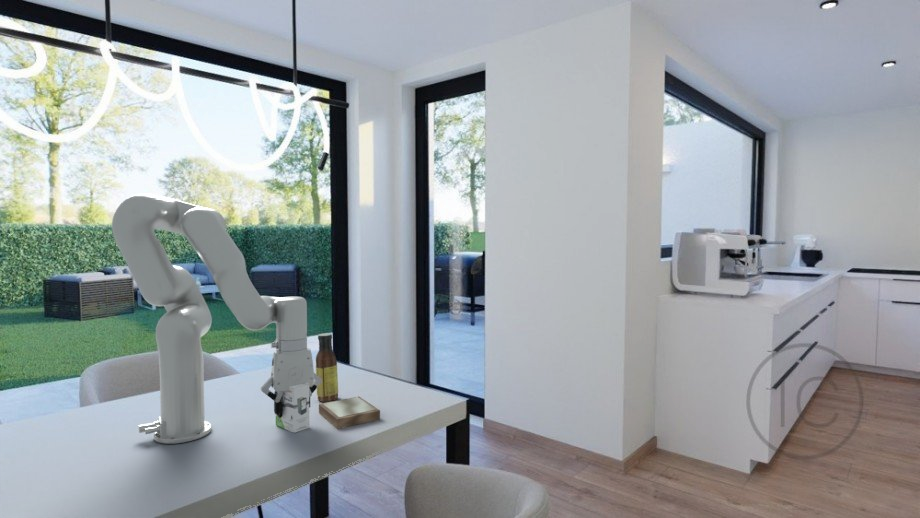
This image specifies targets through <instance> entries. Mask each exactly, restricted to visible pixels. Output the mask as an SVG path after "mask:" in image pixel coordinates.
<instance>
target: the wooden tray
mask: <svg viewBox="0 0 920 518" xmlns="http://www.w3.org/2000/svg"><path fill="white" fill-rule="evenodd" d="M318 413H319V414H320V415H321V416H322V417H323V419H325V420H327V422H329V424H331V425H332V426H333V427H335V428H336V429H337V430H338V429H339V430H340V429H343V428H344V429H345V428H347V427H352V426H358V425H361V424H366V423H369V422H370V423H371V422H373V421H374V422H375V421H379V420H381V410H380V409H378V408H377V407H376V406H374V405H373V404H371V403H369V402H368V401H367V400H365V399H364V398H363V397H360V396H354V397H349V398H344V399H340V400H339V399H336V400H333V401H329V402H324V403H323V402H322V403H319V404H318Z"/></svg>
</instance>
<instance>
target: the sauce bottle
mask: <svg viewBox="0 0 920 518" xmlns="http://www.w3.org/2000/svg"><path fill="white" fill-rule="evenodd" d="M317 339H318V351H317V354H316V356H315V374H316V375H317V376H319V377H320V378H321V379H322V382H321V383H320V384H319V386H317V388H316V396H317V400H318V401H319V402H324V403H327V402H332V401H337V400H338V398H339V381H338V380H339V378H338V362H337V357H336V354H335V352H334V350H333V345H332V344H333V343H332V339H333V333H329V332H326V333H319V334H318V335H317Z"/></svg>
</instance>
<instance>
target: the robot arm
mask: <svg viewBox="0 0 920 518" xmlns="http://www.w3.org/2000/svg"><path fill="white" fill-rule="evenodd" d="M226 227H227V225H226V219H225V218H224V216H223V215H222V214H221V213H220V212H219V211H217V210H216V209H213V208H209V207H203V206H201V205H196V204H192V203H189V202H186V201H182V200H178V199H175V198H171V197H166V196H162V195H159V194H152V193H137V194H134V195H131V196H129V197H127V198H126V199H125V200H123V201H122V202H121V203H120V204H119V206H118V207H117V208H116V210H115V212H114V214H113V217H112V221H111V230H112V234H113V235H112V236H113V238H114V241H115V243H116V245H117V247H118V249H119V251H120V253H121V255H122V256H123V260H125V263H126V265H127V267H128V270H129V271H130V273H131V276H132V277H133V279H134V282H135V284H136V286H137V288H138V290H139V292H140V294H141V296H142V298H143V299H144V300H145V301H146V302H147V303H148V304H149V305H152V306H155V307H164V309H165V310H166V312H165V313H163V315H162V316H161V317H160V318H159V320H158V321H157V324H156V327H155V340H156V342H155V343H156V347H157V351H158V366H159V367H158V368H159V391H160V392H159V393H160V394H159V395H160V397H159V400H160V415H159V416H158V420H154V421H153V422H150V423H143V424H142V423H141V424H138V433H139V434H142V433H145V435H148V434H149V435H150V434H152V433H153V440H154V441H155V442H156V443H159V444H166V445H168V444H169V445H170V444H171V445H172V444H173V445H174V444H182V443H188V442H193V441H195V440H198V439H201V438H204V437H205V436H207V435H208V434H210V432H211V431H212V428H213V427H212V424H211V423H210V422H209V421H207V420H205V383H204V381H205V379H204V378H205V377H204V373H205V372H204V355H203V346H202V342H201V338H202V337H203V336H204V335H206V334H207V333H208V331H210V329H211V326H212V322H213V317H212V314H211V311H210V309H209V307H208V304H207V302H206V300H205V298H204V296H203V293H202V292H201V290H200V288H199V286H198V283H197V282H196V280H195V278H194V277H193V275H192V274H191V273H190V272H189V271H188V270H187V269H185V268H184V267H181V266H179V265H173V264H172V262H171V260H170V259H169V257H168V255H167V252H166V250H165V248H164V246H163V244H162V243H161V241H160V240H159V239H158V237H157V235H156V232H155V231H156V230H159V231H160V230H162V231H165V232H170V233H174V234H178V235H181V236H185V238H186V239H187V241H188V242H189V244H190V245H191V247H192V248H193V250H194V251H195V252H196V253H197V255H198V256H199V258H200V260H202V262H203V263H204V265H205V267H206V268H207V270H208V271H209V272H210V274H211V275H212V278H213V282H214V284H215V285H216V287H217V290H218V291H219V293H220V296H221V297H222V299H223V301H224V303H225V304H226V306H227V307H228V308H229V310H230V311H231V313H232V315H233V316H234V317H235V318H236V320H237V321H238V323H240V324H241V326H243V327H244V328H245V329H247V330H250V331H254V332H255V331H260V330H263V329H265V328H266V327H268V325H270V324H272V323H273V324H274V323H275V327H276V330H275V333H276V335H275V336H276V337H275V340H274V341H273V342H270V344H269V346H270V348H271V349H273V348H274V349H275V350H274V351H273V354H272V359H271V360H272V361H271V369H270V377H269V378H268V379H267V381H266V382H264V383H263V385H262V386H261V387H260V391H261V392H262V393H263V394H265V395H266V396H267V397H269V398H270V399H271V400H273V408H274V409H273V412H274V414H275V416H276V415H277V416H278V417H279V418H281V417H282V402H281V397H282V394H283V392H287V391H289V386H294V385H299V384H304V383H309V409H310V408H311V397H312V396H313V393H314V392H315V391H317V386H319V384H320V383H321V382H322V379H321V378H320V377H319V376H317V375H316V372H315V371H314V361H313V360H314V359H313V355H312V350H311V348H310V347H308V315H307V314H308V313H307V312H308V311H307V310H308V309H307V308H308V306H307V305H308V303H307V299H306V298H304V297H302V296H296V295H295V296H283V297H282V296H281V297H279V296H270V295H260V293H259V292H258V290H257V289H256V287H255V285H253V283H252V281H251V279H250V277H249V274H248V272H247V266H246V259H245V257H244V254H243V253H242V251H241V250H240V249H239V247H238V246H237V244H236V243H235V241H234V240H233V238H232V237H231V236H230V234H229V233H228V231H227V230H226ZM270 387H271V388H273V390H274V392H273V391H271V390H270Z"/></svg>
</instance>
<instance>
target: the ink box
mask: <svg viewBox="0 0 920 518" xmlns="http://www.w3.org/2000/svg"><path fill="white" fill-rule="evenodd" d="M281 402H282V417H281V418H279V417H278V416H277V415H276V414H275V426H278V427H279V428H281V429H284V430H286V431H288V432H291V433H294V434H295V433H297V432H300V431H304V430H306V429H309V428H310V427H311V426H310V408H309V383H304V384H299V385H294V386H289V391H287V392H283V394H282V397H281Z"/></svg>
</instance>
